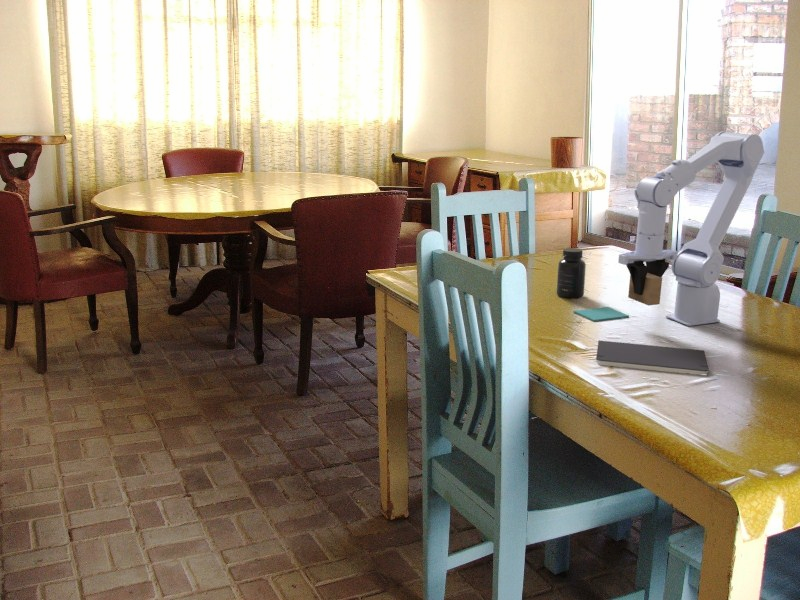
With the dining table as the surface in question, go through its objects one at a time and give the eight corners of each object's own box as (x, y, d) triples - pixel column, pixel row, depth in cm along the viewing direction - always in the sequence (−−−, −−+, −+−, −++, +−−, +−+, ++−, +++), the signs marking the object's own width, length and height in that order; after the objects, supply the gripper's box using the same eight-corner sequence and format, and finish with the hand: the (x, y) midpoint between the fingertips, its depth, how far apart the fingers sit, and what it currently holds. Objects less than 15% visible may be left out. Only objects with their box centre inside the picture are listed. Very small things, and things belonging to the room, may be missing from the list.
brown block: (628, 297, 194) (630, 271, 193) (638, 296, 196) (641, 270, 194) (648, 305, 188) (651, 278, 187) (659, 304, 189) (662, 277, 188)
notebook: (703, 357, 177) (597, 347, 182) (704, 350, 176) (598, 340, 181) (708, 378, 165) (595, 366, 170) (709, 370, 165) (596, 359, 170)
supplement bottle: (563, 290, 224) (566, 245, 221) (587, 295, 220) (591, 249, 217) (551, 296, 219) (554, 250, 215) (576, 301, 215) (580, 253, 212)
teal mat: (607, 308, 209) (607, 306, 209) (628, 317, 202) (629, 315, 202) (573, 312, 205) (573, 310, 205) (593, 321, 198) (593, 319, 198)
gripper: (635, 238, 181) (629, 300, 185) (689, 234, 187) (682, 294, 191) (614, 232, 188) (609, 292, 191) (667, 228, 193) (661, 287, 197)
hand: (644, 293), depth 191 cm, fingers closed on brown block, 3 cm apart
